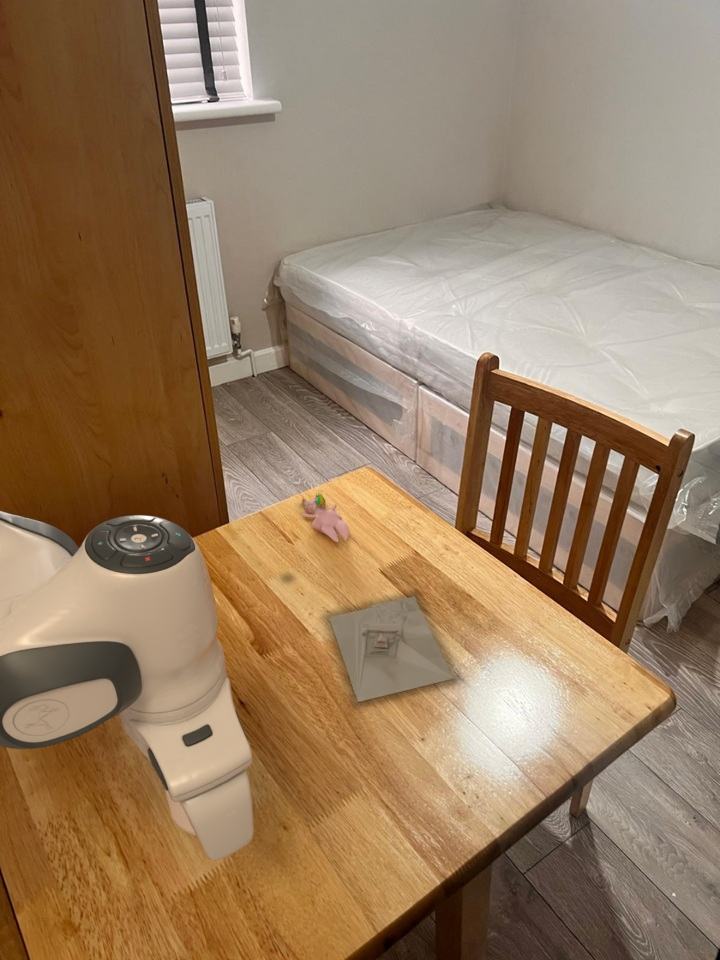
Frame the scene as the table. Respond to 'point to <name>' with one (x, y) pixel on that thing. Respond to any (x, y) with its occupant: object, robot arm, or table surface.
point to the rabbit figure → (325, 518)
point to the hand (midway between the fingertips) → (196, 792)
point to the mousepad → (389, 649)
